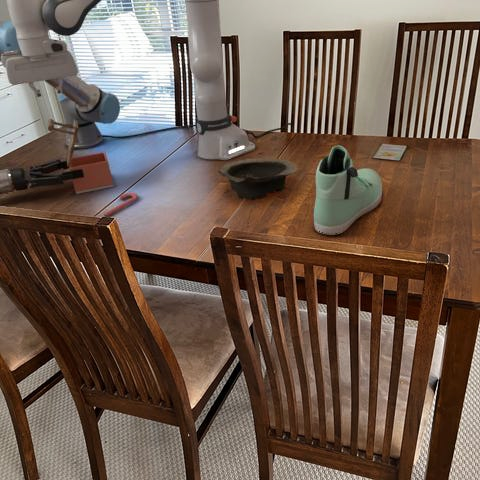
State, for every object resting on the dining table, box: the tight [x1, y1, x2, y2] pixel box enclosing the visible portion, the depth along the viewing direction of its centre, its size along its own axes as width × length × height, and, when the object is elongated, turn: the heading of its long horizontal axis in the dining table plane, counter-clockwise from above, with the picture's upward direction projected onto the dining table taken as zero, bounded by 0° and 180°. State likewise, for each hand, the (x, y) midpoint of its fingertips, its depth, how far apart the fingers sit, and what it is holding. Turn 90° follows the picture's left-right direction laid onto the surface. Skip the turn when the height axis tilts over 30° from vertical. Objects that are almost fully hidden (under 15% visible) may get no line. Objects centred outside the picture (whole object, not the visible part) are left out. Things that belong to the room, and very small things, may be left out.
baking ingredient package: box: [373, 143, 407, 161], centre depth 172 cm, size 9×1×15 cm
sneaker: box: [313, 145, 383, 236], centre depth 133 cm, size 14×35×20 cm, turn 152°
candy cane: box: [103, 192, 139, 218], centre depth 150 cm, size 6×15×2 cm, turn 145°
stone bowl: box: [217, 157, 299, 201], centre depth 152 cm, size 25×25×9 cm
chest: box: [68, 151, 115, 195], centre depth 164 cm, size 13×10×9 cm
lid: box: [47, 118, 78, 167], centre depth 156 cm, size 13×10×9 cm
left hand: (82, 167), depth 162 cm, fingers closed on chest, 10 cm apart
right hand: (49, 94), depth 148 cm, fingers open, 5 cm apart
